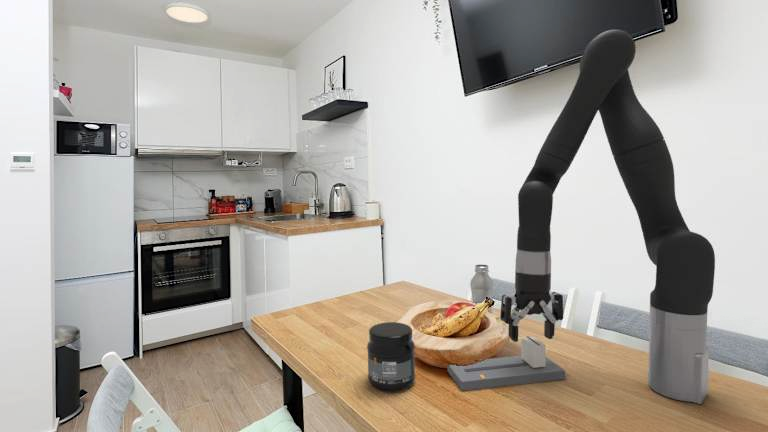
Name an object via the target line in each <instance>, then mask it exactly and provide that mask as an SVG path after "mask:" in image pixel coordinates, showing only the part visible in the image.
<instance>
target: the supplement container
mask: <svg viewBox="0 0 768 432" xmlns="http://www.w3.org/2000/svg"><path fill="white" fill-rule="evenodd" d="M368 339H369V341H368V342H367V344H366V345H367V346H366V350H367V370H368V375H367V378H368V379H367V380H368V383H369V384H370V385H371V387H372V388H374V389H376V390H377V391H381V392H384V393H399V392H402V391H405V390H407V389H409V388H410V387H412V385H413V384H414V383H415V381H416V380H415V379H416V372H415V368H416V367H415V365H416V364H415V349H416V345H415V342H414V340H413V328H412V327H411V326H410V325H408V324H406V323H403V322H396V321H389V322H381V323H377V324H374V325H373V326H371V327H370V328H369V330H368Z"/></svg>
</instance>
